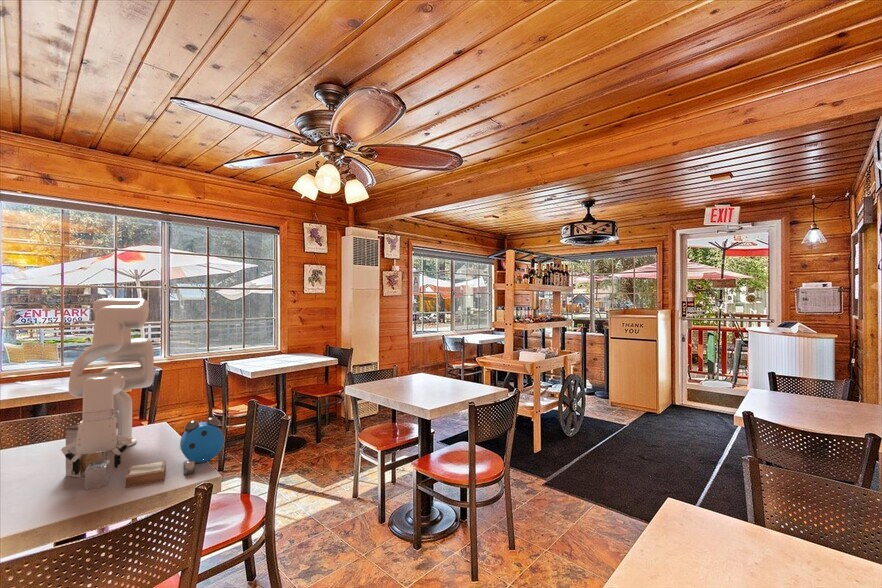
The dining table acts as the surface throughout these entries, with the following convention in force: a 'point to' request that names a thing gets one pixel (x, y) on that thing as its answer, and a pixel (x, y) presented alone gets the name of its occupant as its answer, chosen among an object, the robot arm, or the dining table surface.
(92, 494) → the dining table surface
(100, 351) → the robot arm
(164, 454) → the dining table surface
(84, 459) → the coffee box
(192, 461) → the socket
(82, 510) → the dining table surface
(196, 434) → the alarm clock
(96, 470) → the housing
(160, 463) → the picture frame
